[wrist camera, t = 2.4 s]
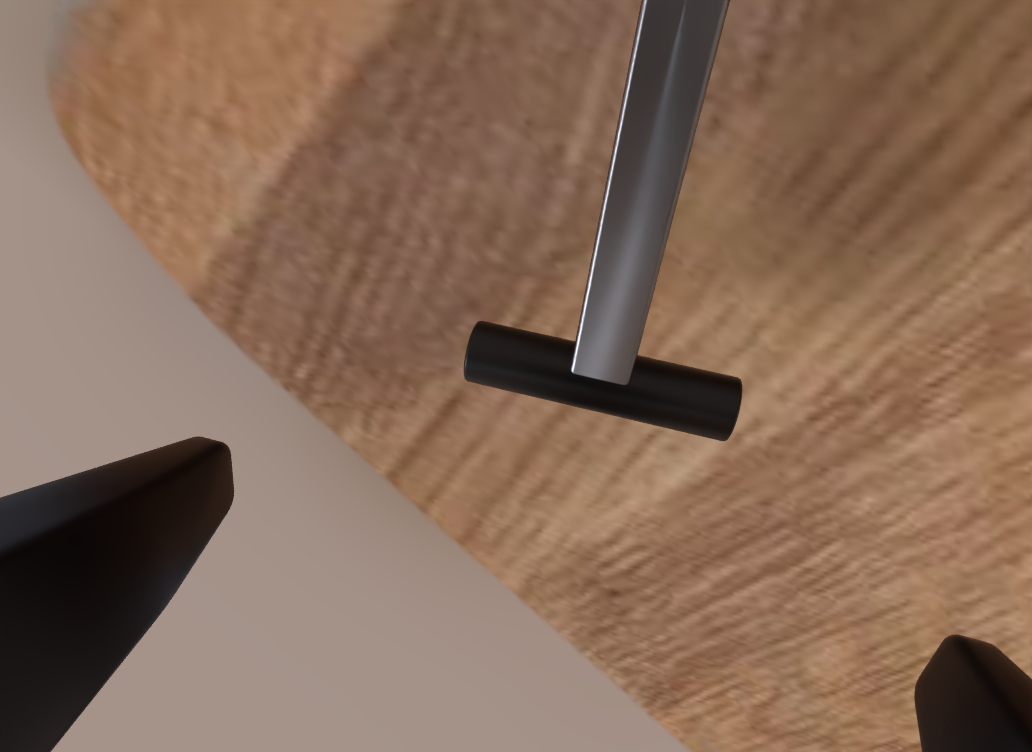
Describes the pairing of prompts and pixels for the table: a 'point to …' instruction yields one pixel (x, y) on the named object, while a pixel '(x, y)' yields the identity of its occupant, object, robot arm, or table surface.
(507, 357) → the lever
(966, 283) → the table surface
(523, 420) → the table surface
